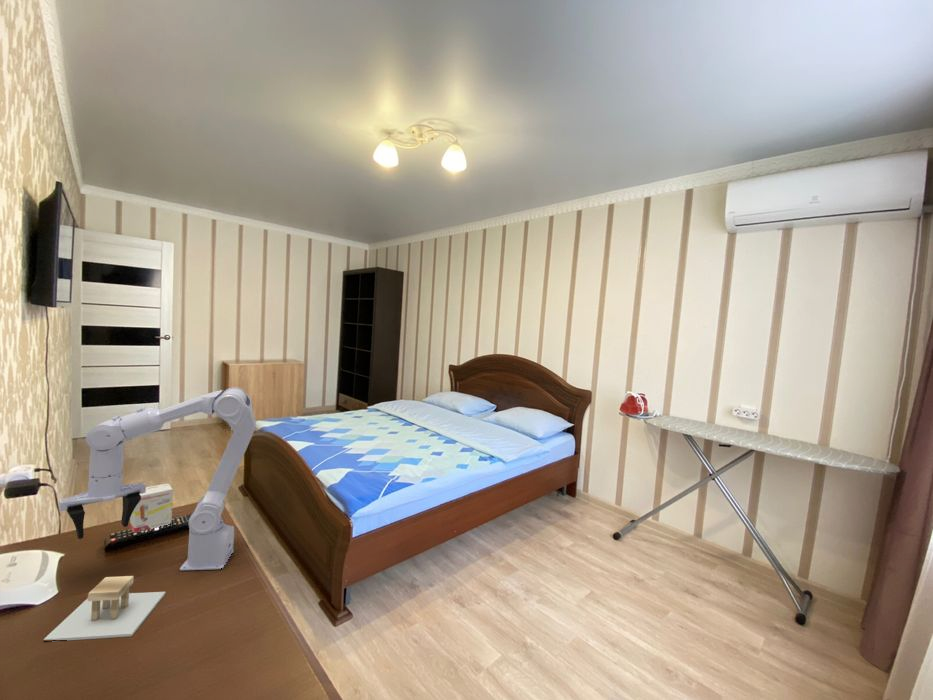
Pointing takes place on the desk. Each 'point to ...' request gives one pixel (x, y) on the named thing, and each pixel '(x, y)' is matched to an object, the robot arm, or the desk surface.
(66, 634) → the light grey mat
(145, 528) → the ink box
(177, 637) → the desk surface
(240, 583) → the desk surface
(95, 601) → the birch stool
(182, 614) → the desk surface
